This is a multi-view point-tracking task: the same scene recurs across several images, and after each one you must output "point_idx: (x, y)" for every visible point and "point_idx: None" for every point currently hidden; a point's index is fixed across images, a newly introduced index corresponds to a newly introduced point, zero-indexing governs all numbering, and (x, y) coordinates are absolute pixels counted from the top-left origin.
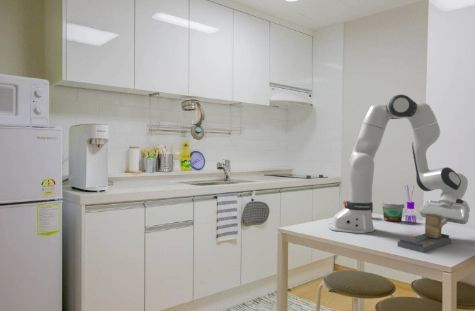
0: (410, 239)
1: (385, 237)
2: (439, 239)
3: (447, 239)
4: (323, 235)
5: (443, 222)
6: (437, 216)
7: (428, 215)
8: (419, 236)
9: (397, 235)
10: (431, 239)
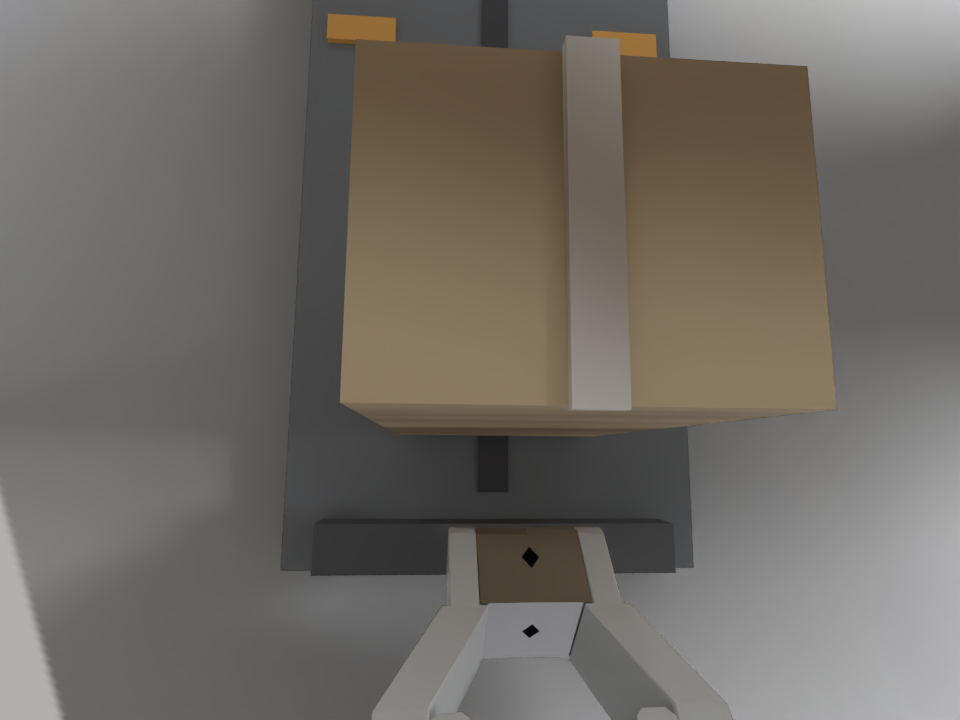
0: (623, 1)
1: (943, 90)
2: None
3: (295, 434)
4: None
5: (418, 647)
6: (362, 56)
7: (686, 83)
8: None
9: (937, 307)
10: None
